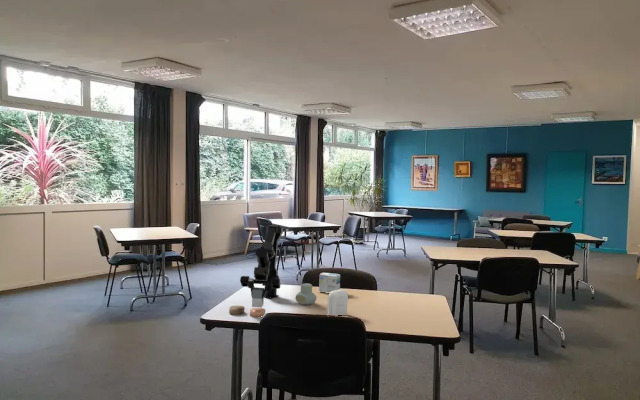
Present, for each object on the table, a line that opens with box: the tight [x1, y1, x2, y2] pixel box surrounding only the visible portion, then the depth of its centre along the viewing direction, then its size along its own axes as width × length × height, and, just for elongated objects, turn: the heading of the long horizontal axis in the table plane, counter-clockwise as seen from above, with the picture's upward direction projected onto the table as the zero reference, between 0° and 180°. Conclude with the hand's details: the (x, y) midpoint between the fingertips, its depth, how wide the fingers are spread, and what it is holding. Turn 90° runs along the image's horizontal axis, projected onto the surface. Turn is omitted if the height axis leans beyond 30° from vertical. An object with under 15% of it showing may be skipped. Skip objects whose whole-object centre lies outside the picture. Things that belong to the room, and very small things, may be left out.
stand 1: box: [228, 304, 246, 316], centre depth 205 cm, size 7×7×2 cm
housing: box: [251, 286, 265, 308], centre depth 203 cm, size 4×4×8 cm
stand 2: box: [249, 307, 266, 319], centre depth 203 cm, size 7×7×2 cm
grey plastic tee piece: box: [295, 283, 317, 306], centre depth 225 cm, size 11×8×10 cm
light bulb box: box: [318, 272, 341, 292], centre depth 249 cm, size 11×7×11 cm, turn 69°
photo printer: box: [326, 288, 349, 316], centre depth 208 cm, size 10×4×12 cm, turn 123°
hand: (257, 297), depth 201 cm, fingers closed on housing, 4 cm apart
